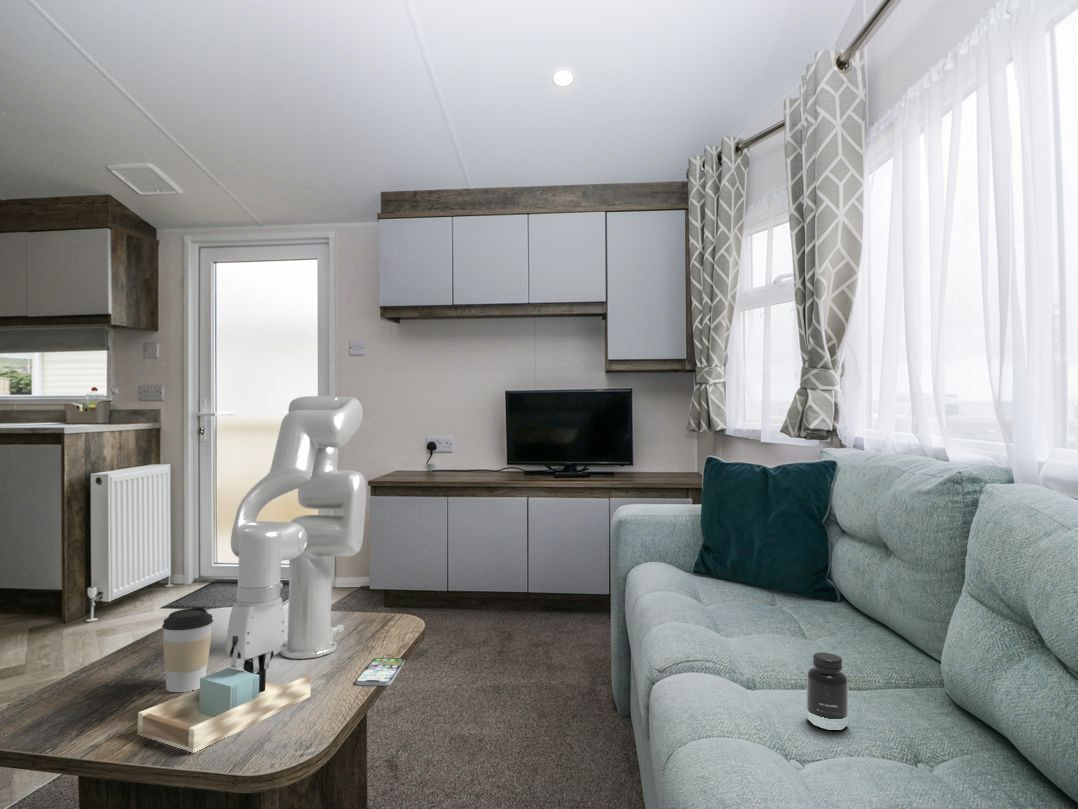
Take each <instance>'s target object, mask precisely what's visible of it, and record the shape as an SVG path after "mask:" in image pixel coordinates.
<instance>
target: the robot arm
mask: <svg viewBox="0 0 1078 809" xmlns="http://www.w3.org/2000/svg"><path fill="white" fill-rule="evenodd" d="M287 410H288V413H286V415H284V417H283V418H282V421H281V423H280V428H279V431H278V436H277V440H276V444H275V449H274V451H273V452H274V454H273V458H272V461H271V466H270V470H269V472H268V473H266V474H267V475H265V476H264V477H263V478H261V479H260V480H259V481H258V482H257V483H255V485H254V486H253V487H251V489H250V490H248V492H247V493H245V494H246V495H245V496H244V497H243V499H242V500H241V501H240V503H239V504H238V507H237V509H236V514H235V518H234V523H233V525H232V526H233V527H232V530H231V535H230V549H231V551H232V553H233V555H234V556H235V557H236V558H238V569H237V596H236V598H237V599H236V600H237V601H236V603H233V604H232V608H231V612H230V617H229V620H228V626H227V627H228V629H227V633H226V648H225V652H226V653H225V654H226V656H227V657H229V658H231V661H230V668H234V669H243V671H247V672H249V673H254V674H258V675H259V693H260V692H263V691H265V682H267V681H266V680H267V678H266V676H267V673H266V672H267V670H268V669H269V668H270V663H271V660H272V659H273V657H274V656H276V655H277V654H280V655H281V656H282V657H284V658H288V659H294V660H299V659H300V660H303V659H304V660H305V659H314V658H318V657H322V656H323V655H324V656H326V654H327V655H329V654H331V653H333V652H335V650H337V646H338V644H337V643H338V642H337V641H336V640H335V639H334V637H335V635H337V634H340V633H342V632H344V630H345V629H344V625H343V624H341V623H339V624H337V625H334V626H332V625H331V618H332V617H331V614H332V582H333V580H332V578H333V577H332V571H331V568H330V566H329V564H328V562H327V561H326V559H325V558H324V557H353V556H355V555H357V554H358V553H359V552H360V551H361V549H362V546H363V543H364V542H363V541H364V532H365V518H366V506H367V483H366V482H367V481H366V479H365V477H364V475H363V474H362V473H361V472H359V471H357V470H350V469H349V470H348V469H347V470H343V469H338V460H339V459H338V458H339V448H343V447H344V446H345V445H346V444H347V443H349V441H350V440H351V438H352V437H353V436H354V435H355V433H356V432H357V431H358V430H359V428H360V426H361V425H362V421H363V415H364V414H363V413H364V412H363V406H362V403H361V402H360V401H359V399H357V398H355V397H352V396H351V397H350V396H325V395H324V396H322V395H321V396H319V395H317V396H316V395H315V396H311V395H310V396H309V395H308V396H300V397H296V398H294V399H292V400H291V401H290V403H289V405H288V409H287ZM295 490H297V499H298V503H299V505H300V506H301V507H302V508H305V509H310V510H330V511H331V510H332V511H333V510H337V511H338V510H339V511H343V515H339V514H337V515H336V514H335V515H334V514H333V515H332V514H331V515H330V514H304V515H299V516H297V517H295V518H293V519H292V520H290V521H257V518H258V516H259V514H260V512H261V511H262V510H263V508H264V507H266V505H267V504H269V503H270V502H271V501H273V500H274V499H276V498H278V497H280V496H283V495H286V494H289V493H290V492H294V491H295ZM282 561H283V562H284V561H288V562H289V564H288V567H289V570H288V571H289V572H288V574H289V577H288V579H289V580H288V581H289V582H288V611H287V614H288V616H287V642H285V643H284V641H285V632H286V631H285V626H286V625H285V610H284V603H283V602H284V601H283V599H282V597H281V589H282V588H283V586H284V584H283V582H282V581H281V580H282V578H281V575H282V574H281V573H282Z"/></svg>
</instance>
